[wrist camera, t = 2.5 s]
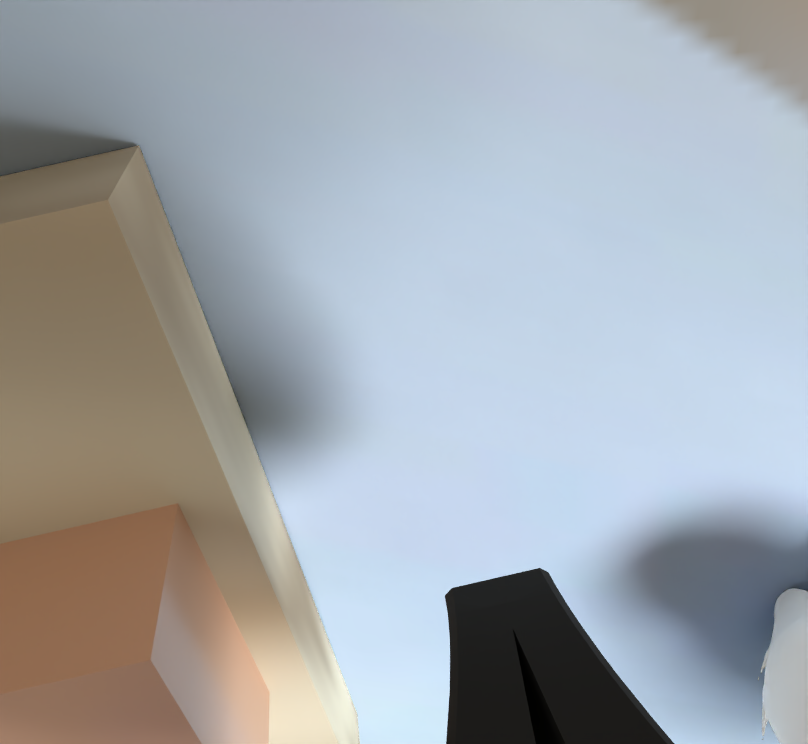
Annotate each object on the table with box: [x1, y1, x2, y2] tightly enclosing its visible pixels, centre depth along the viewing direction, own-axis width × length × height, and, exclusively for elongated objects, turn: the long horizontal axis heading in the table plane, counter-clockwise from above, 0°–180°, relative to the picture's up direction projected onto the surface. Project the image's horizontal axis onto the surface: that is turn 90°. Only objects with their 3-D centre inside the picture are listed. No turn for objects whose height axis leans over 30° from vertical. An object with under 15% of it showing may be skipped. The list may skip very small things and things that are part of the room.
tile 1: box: [0, 503, 270, 744], centre depth 10 cm, size 4×4×2 cm
